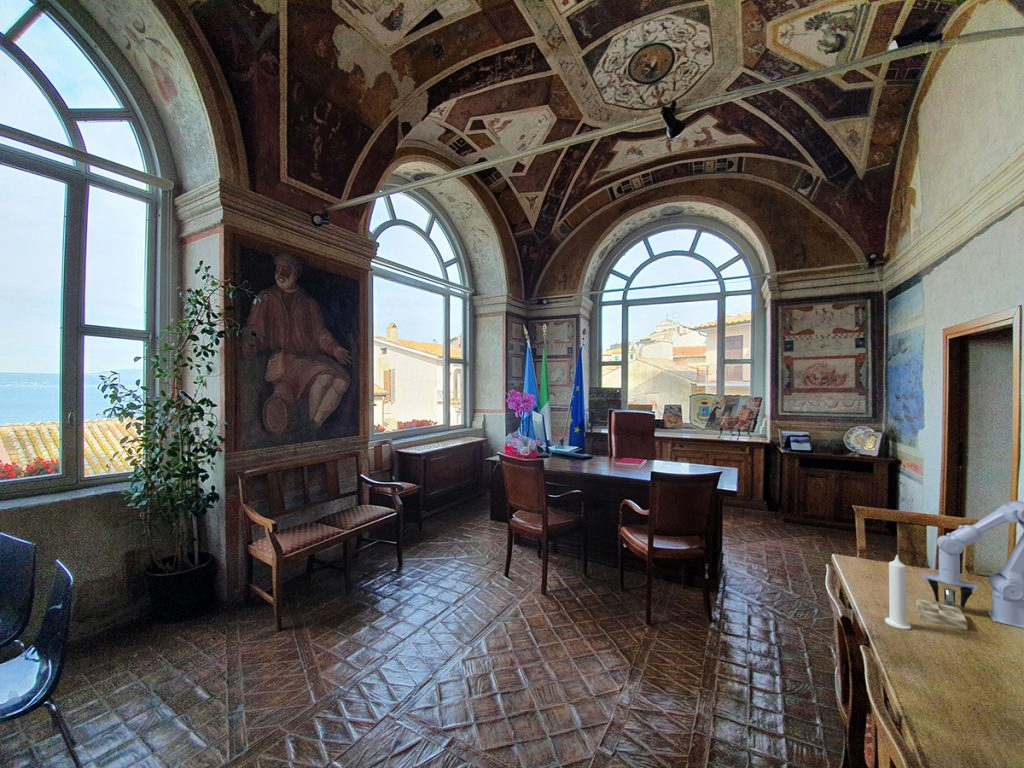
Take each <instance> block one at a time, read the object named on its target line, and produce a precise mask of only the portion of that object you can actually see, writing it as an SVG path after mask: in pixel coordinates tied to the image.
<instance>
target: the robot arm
mask: <svg viewBox="0 0 1024 768" xmlns="http://www.w3.org/2000/svg"><path fill="white" fill-rule="evenodd" d="M1006 523H1008V524H1009V523H1012V524H1019V525H1020V526H1021V528H1022V529H1023V530H1024V502H1023V501H1020V500H1011V501H1008V502H1007V503H1006V504H1003V505H1000V507H999V508H997V509H996V510H995V511H993V512H992V513H989V514H988V515H987V516H985V517H983V518H982V519H981V520H979V521H977V522H975V523H974V524H965V525H962V524H960V525H958V527H957V529H956V530H953V531H951V532H950V533H949V532H947V533H945V534H946V535H940V536H938V538H937V540H935V544H936V546H937V547H938V575H933V574H925V573H923V574H922V579H923V581H925V582H928V583H929V585H930V587H931V590H932V592H933V594H934V600H935V603H939V601H940V597H939V588H940V587H939V584H942V585H943V584H944V585H948V586H953V587H958V588H960V589H959V590H960V607H961V608H965V607H966V604H967V602H968V599H969V598H970V597H971V595H973V591H974V592H978V585H977V583H972V582H968V581H965V580H961V558H960V556H961V555H960V554H962V552H964V548H966V547H968V546H970V545H972V544H974V543H975V542H977V541H979V540H981V539H982V538H983V533H986V532H988V531H990V530H992V529H994V528H997V527H998V526H1000V525H1003V524H1006ZM988 583H989V585H990V586H991V587H992V590H991V611H987V613H988V615H989V616H990V618H991V620H992V621H993V622H995V623H1000V624H1004V625H1008V626H1014V627H1018V628H1021V629H1024V531H1023V533H1022V534H1021V536H1020V537H1019V539H1018V541H1017V542H1016V545H1015V547H1014V548H1013V550H1012V552H1011V554H1010V556H1009V557H1008V558H1007V560H1006V563H1004V566H1003V567H1000V568H998V569H997V570H996V571H995V573H993V574H990V576H989V577H988Z"/></svg>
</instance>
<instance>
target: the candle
mask: <svg viewBox="0 0 1024 768" xmlns="http://www.w3.org/2000/svg"><path fill="white" fill-rule="evenodd" d="M906 568H907V567H906V565H905V564H904V563H903V562H902V561H901V560H900V558H899V555H898V554H896V555H895V558H894V560H892V561H889V562H888V590H889V591H888V593H889V596H888V598H889V600H888V601H889V603H888V606H889V607H888V609H889V610H888V613H889V616H888V617H885V618H884V622H885V623H886V625H887V624H888V626H891V627H893V628H895V629H899V630H903V631H904V630H906V631H908V630H909V631H910V630H911V629H912V624H910V623H909V622H907V573H906V572H907V569H906Z"/></svg>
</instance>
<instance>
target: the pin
mask: <svg viewBox="0 0 1024 768" xmlns="http://www.w3.org/2000/svg"><path fill="white" fill-rule="evenodd" d="M943 605H948V606H952V607H956V589H954V588H950V587H946V586H945V587H943Z"/></svg>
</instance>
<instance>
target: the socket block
mask: <svg viewBox="0 0 1024 768" xmlns="http://www.w3.org/2000/svg"><path fill="white" fill-rule="evenodd" d="M915 608H916V611H917V613H918V617H919V619H920V620H923V621H926V622H931V623H935V624H939V625H944V626H947V627H951V628H955V629H959V630H965V631H968V620H967V619H966V617H965V616H964V613H963V612H962V610H961V608H959V607H956V606H955V607H952V606H948V605H944V603H939V602H933V601H929V600H924V599H921V598H915Z"/></svg>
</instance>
